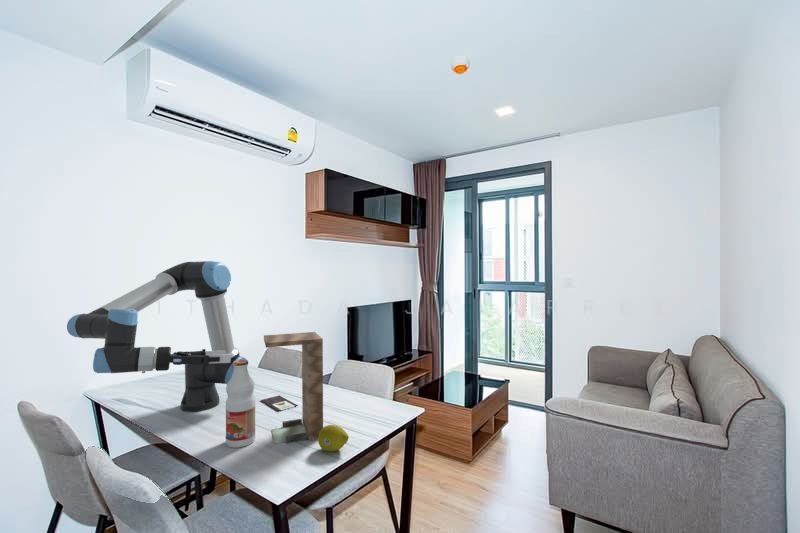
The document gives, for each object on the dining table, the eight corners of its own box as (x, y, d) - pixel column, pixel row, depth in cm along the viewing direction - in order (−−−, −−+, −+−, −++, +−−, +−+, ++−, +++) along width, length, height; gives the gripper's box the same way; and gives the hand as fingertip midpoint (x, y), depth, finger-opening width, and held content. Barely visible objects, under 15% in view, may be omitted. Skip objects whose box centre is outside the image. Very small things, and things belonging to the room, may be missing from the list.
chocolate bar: (279, 395, 176) (297, 405, 163) (279, 397, 176) (297, 407, 163) (260, 400, 170) (278, 410, 157) (260, 402, 170) (278, 413, 157)
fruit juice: (259, 442, 129) (259, 361, 129) (231, 451, 123) (231, 366, 123) (249, 433, 136) (248, 356, 136) (221, 441, 130) (221, 361, 130)
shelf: (266, 447, 125) (265, 343, 125) (264, 428, 140) (263, 335, 140) (323, 437, 132) (322, 338, 133) (315, 420, 147) (315, 331, 147)
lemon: (311, 451, 122) (311, 426, 122) (328, 441, 129) (328, 418, 129) (337, 459, 117) (337, 434, 117) (353, 449, 123) (352, 425, 124)
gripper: (155, 365, 130) (222, 363, 141) (152, 376, 109) (232, 372, 120) (158, 343, 131) (224, 342, 142) (155, 350, 110) (233, 348, 120)
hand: (228, 356), depth 131 cm, fingers open, 13 cm apart
